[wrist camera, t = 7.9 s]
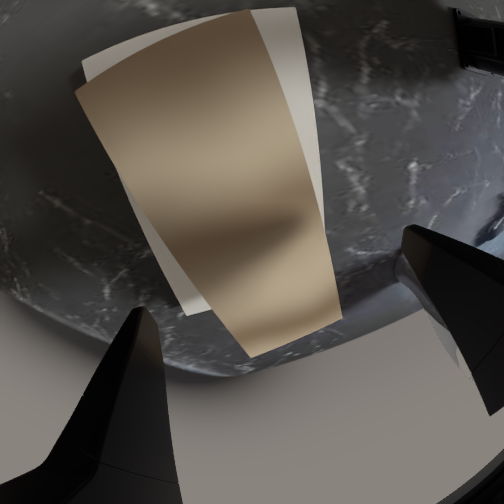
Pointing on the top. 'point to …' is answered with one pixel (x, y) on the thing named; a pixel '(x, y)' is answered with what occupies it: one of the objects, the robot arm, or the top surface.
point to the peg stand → (297, 96)
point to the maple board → (221, 176)
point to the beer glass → (430, 312)
